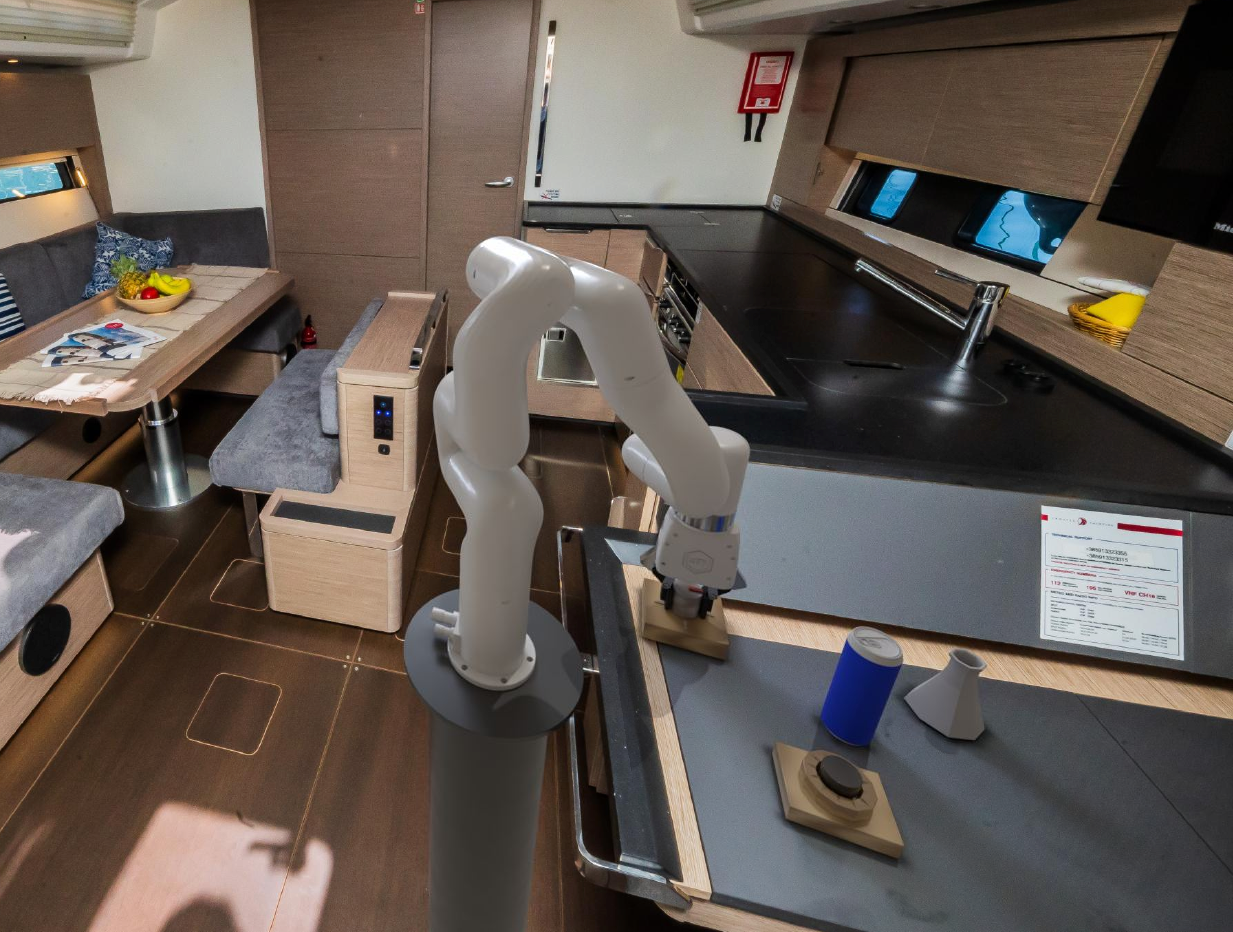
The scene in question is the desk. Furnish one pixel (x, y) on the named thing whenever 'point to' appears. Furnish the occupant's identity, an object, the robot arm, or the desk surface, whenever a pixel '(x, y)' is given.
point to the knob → (686, 599)
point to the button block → (835, 802)
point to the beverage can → (861, 685)
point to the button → (840, 776)
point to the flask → (952, 697)
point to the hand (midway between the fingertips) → (684, 607)
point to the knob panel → (683, 625)
